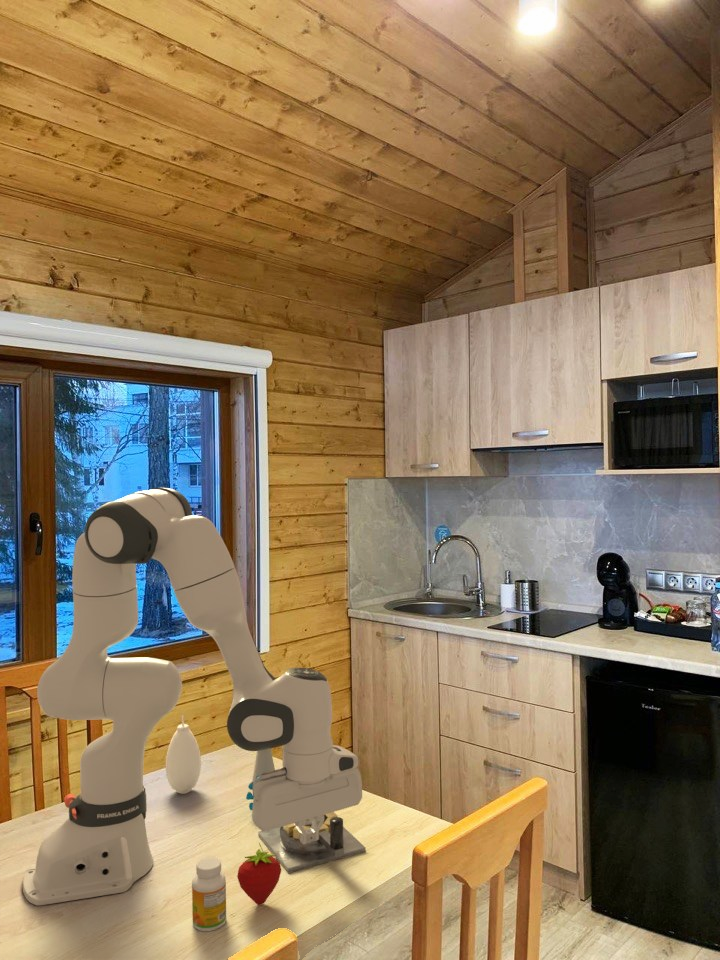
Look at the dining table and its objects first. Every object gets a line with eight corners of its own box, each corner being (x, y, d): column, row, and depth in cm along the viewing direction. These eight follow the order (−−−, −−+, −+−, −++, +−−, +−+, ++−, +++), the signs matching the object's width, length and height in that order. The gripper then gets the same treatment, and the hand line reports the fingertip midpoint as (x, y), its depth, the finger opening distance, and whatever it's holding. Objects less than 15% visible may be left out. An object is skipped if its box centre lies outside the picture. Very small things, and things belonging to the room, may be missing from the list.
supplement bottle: (190, 916, 125) (189, 858, 125) (222, 909, 127) (222, 852, 126) (195, 935, 120) (194, 874, 119) (229, 927, 122) (228, 867, 121)
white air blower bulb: (196, 799, 169) (195, 719, 169) (161, 799, 170) (160, 719, 169) (204, 785, 177) (203, 708, 177) (172, 785, 177) (170, 708, 177)
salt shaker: (250, 790, 174) (249, 734, 174) (274, 787, 176) (274, 731, 175) (254, 801, 168) (253, 743, 168) (279, 797, 170) (279, 740, 170)
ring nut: (313, 864, 135) (313, 829, 135) (276, 822, 151) (275, 791, 151) (365, 850, 139) (364, 816, 139) (323, 811, 156) (323, 780, 156)
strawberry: (233, 900, 129) (232, 842, 129) (275, 889, 132) (274, 833, 132) (243, 919, 124) (242, 858, 124) (286, 907, 127) (285, 848, 127)
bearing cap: (288, 872, 138) (287, 840, 138) (258, 835, 152) (258, 806, 152) (365, 851, 145) (365, 820, 145) (330, 818, 160) (329, 789, 159)
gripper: (260, 782, 124) (261, 865, 124) (366, 755, 134) (367, 833, 135) (245, 769, 129) (246, 849, 129) (348, 745, 140) (349, 819, 140)
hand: (309, 841), depth 132 cm, fingers closed
